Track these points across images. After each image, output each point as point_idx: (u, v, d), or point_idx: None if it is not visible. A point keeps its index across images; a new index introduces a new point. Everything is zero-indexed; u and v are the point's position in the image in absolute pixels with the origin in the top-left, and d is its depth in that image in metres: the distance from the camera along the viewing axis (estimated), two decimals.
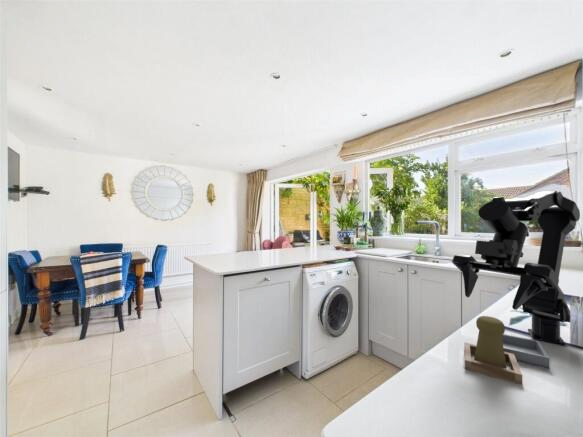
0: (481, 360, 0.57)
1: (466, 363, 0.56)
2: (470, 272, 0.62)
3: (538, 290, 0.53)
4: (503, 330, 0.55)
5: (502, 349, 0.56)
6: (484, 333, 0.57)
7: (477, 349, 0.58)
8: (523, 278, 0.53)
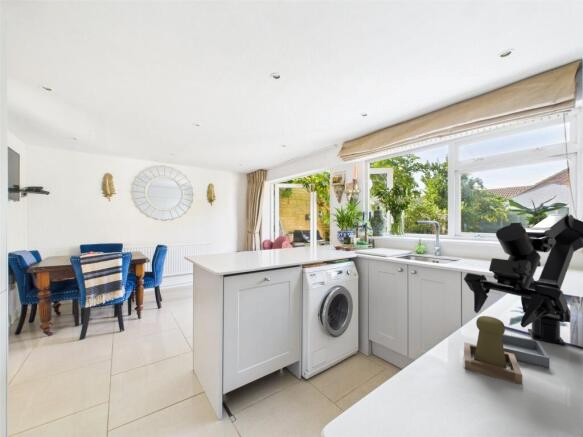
0: (481, 360, 0.57)
1: (466, 363, 0.56)
2: (481, 290, 0.65)
3: (546, 313, 0.56)
4: (503, 330, 0.55)
5: (502, 349, 0.56)
6: (484, 333, 0.57)
7: (477, 349, 0.58)
8: (533, 298, 0.55)
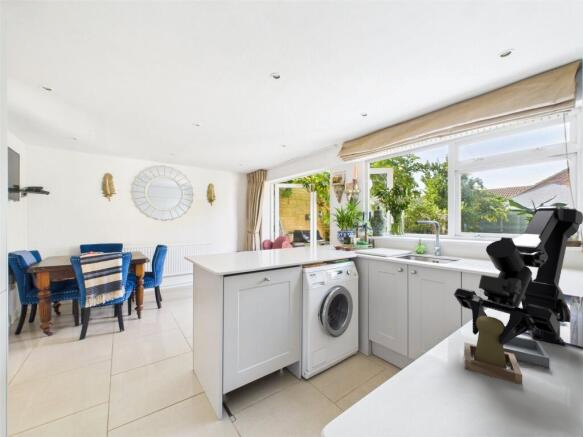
0: (481, 360, 0.57)
1: (466, 363, 0.56)
2: (480, 309, 0.61)
3: (526, 330, 0.56)
4: (503, 330, 0.55)
5: (502, 349, 0.56)
6: (484, 333, 0.57)
7: (477, 349, 0.58)
8: (512, 315, 0.55)
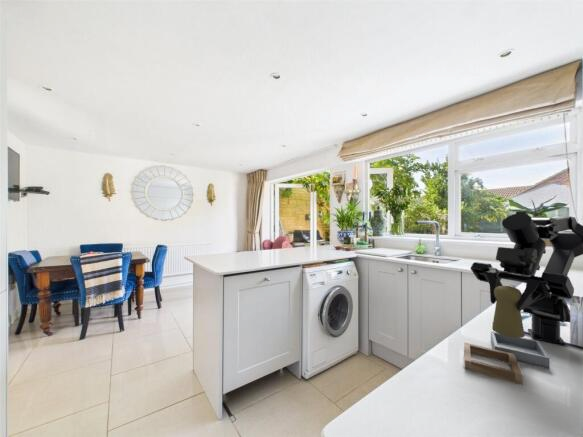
0: (500, 326, 0.60)
1: (466, 363, 0.56)
2: (496, 280, 0.65)
3: (542, 296, 0.59)
4: (520, 297, 0.59)
5: (520, 315, 0.59)
6: (502, 301, 0.60)
7: (495, 317, 0.62)
8: (529, 282, 0.58)
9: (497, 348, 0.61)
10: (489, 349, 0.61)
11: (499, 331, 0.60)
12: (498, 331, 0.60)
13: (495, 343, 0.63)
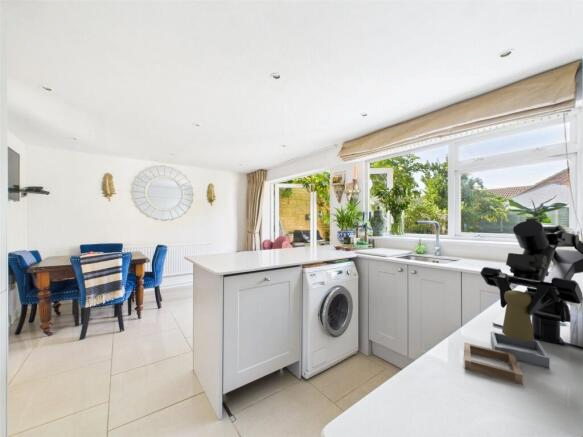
0: (510, 330, 0.62)
1: (466, 363, 0.56)
2: (506, 285, 0.67)
3: (551, 301, 0.61)
4: (530, 301, 0.61)
5: (529, 319, 0.61)
6: (513, 305, 0.62)
7: (505, 320, 0.64)
8: (539, 287, 0.60)
9: (497, 348, 0.61)
10: (489, 349, 0.61)
11: (509, 334, 0.62)
12: (508, 334, 0.62)
13: (495, 343, 0.63)
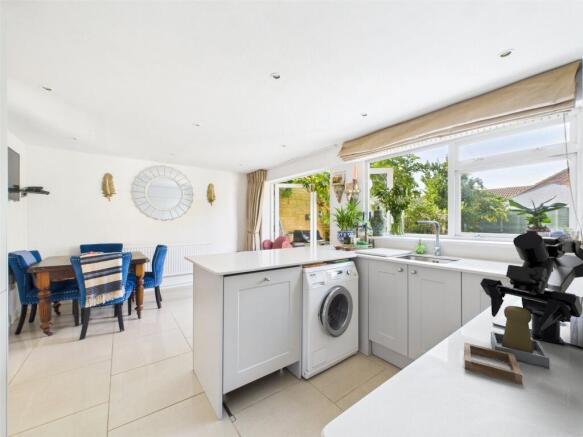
0: (509, 345, 0.62)
1: (466, 363, 0.56)
2: (497, 294, 0.68)
3: (562, 317, 0.59)
4: (530, 318, 0.61)
5: (529, 335, 0.61)
6: (512, 321, 0.62)
7: (505, 336, 0.64)
8: (550, 303, 0.59)
9: (497, 348, 0.61)
10: (489, 349, 0.61)
11: None
12: None
13: (495, 343, 0.63)
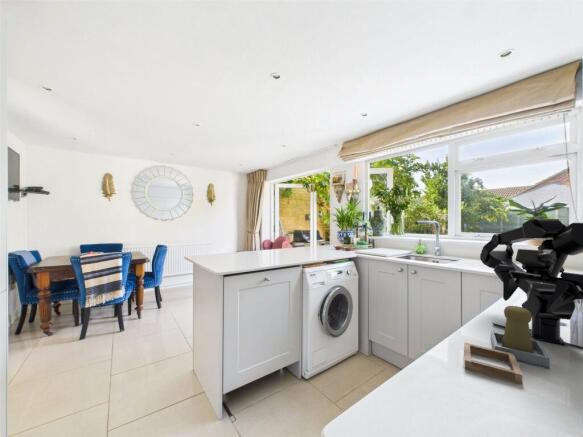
0: (509, 346, 0.62)
1: (466, 363, 0.56)
2: (510, 279, 0.70)
3: (574, 298, 0.60)
4: (530, 318, 0.61)
5: (529, 335, 0.61)
6: (512, 321, 0.62)
7: (505, 336, 0.64)
8: (559, 283, 0.60)
9: (497, 348, 0.61)
10: (489, 349, 0.61)
11: None
12: None
13: (495, 343, 0.63)
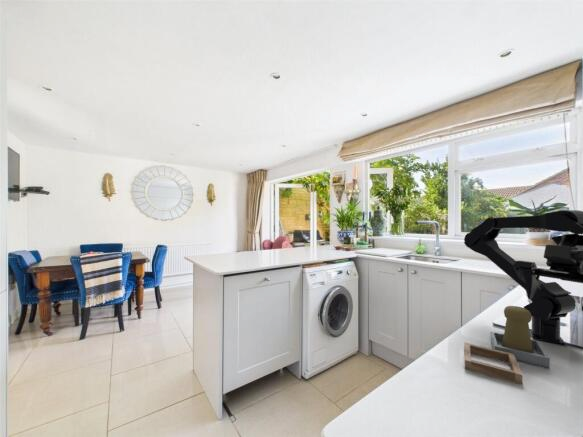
0: (509, 346, 0.62)
1: (466, 363, 0.56)
2: (533, 277, 0.65)
3: None
4: (530, 318, 0.61)
5: (529, 335, 0.61)
6: (512, 321, 0.62)
7: (505, 336, 0.64)
8: None
9: (497, 348, 0.61)
10: (489, 349, 0.61)
11: None
12: None
13: (495, 343, 0.63)
